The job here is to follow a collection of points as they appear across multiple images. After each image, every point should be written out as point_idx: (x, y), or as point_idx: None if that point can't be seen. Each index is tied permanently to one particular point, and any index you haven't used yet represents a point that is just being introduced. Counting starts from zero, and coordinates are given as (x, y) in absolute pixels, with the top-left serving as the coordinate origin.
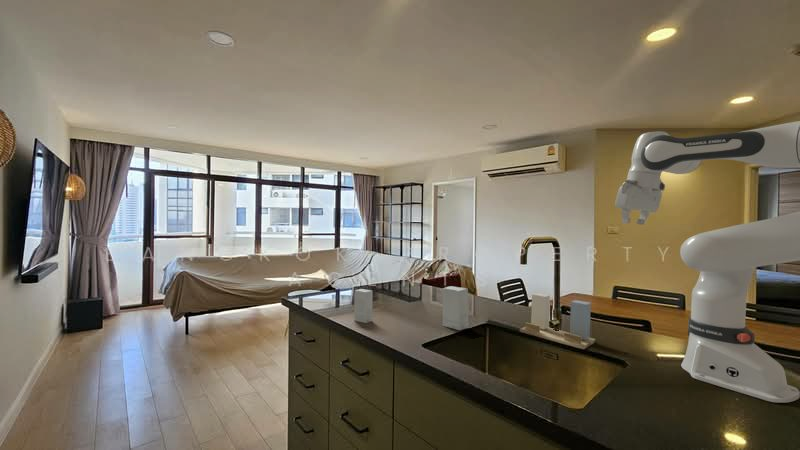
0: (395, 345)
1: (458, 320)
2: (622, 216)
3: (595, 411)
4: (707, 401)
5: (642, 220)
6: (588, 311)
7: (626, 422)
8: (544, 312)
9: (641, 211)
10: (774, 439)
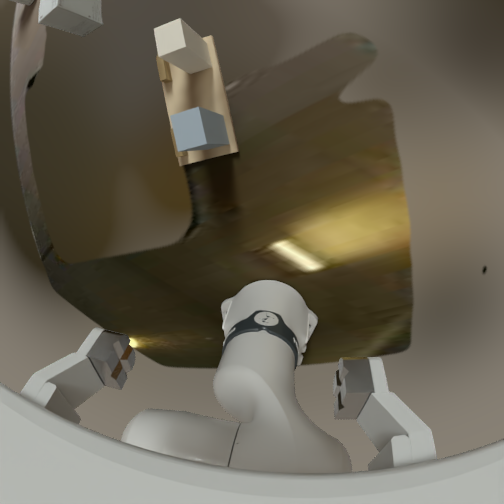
0: (14, 79)
1: (73, 32)
2: (69, 356)
3: (70, 270)
4: (172, 323)
5: (336, 409)
6: (199, 147)
7: (79, 290)
8: (175, 65)
9: (389, 466)
10: (156, 359)
